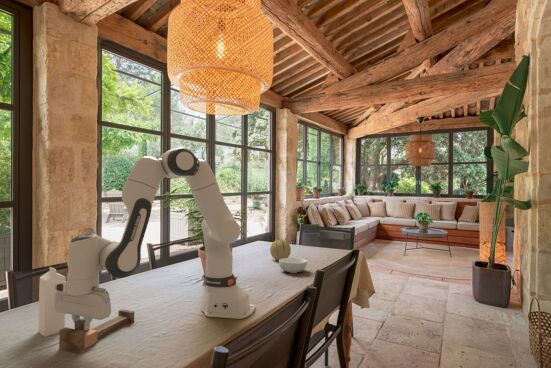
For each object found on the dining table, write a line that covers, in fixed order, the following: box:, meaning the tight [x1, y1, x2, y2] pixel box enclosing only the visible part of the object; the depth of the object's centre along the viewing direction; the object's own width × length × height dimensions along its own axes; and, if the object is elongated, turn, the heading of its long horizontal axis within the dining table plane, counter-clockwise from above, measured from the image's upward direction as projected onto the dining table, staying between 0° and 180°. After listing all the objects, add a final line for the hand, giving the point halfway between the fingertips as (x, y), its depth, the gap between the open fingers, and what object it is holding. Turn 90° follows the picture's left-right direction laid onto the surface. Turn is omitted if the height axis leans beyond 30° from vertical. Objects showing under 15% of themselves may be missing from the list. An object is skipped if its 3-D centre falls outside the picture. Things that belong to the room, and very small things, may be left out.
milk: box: [37, 266, 67, 337], centre depth 111 cm, size 6×6×22 cm
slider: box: [74, 317, 98, 350], centre depth 102 cm, size 7×5×8 cm
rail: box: [58, 308, 135, 355], centre depth 109 cm, size 8×24×6 cm, turn 162°
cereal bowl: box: [278, 257, 308, 274], centre depth 194 cm, size 17×17×7 cm
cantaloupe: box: [269, 238, 292, 261], centre depth 224 cm, size 15×15×15 cm
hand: (82, 328), depth 102 cm, fingers closed on slider, 2 cm apart
